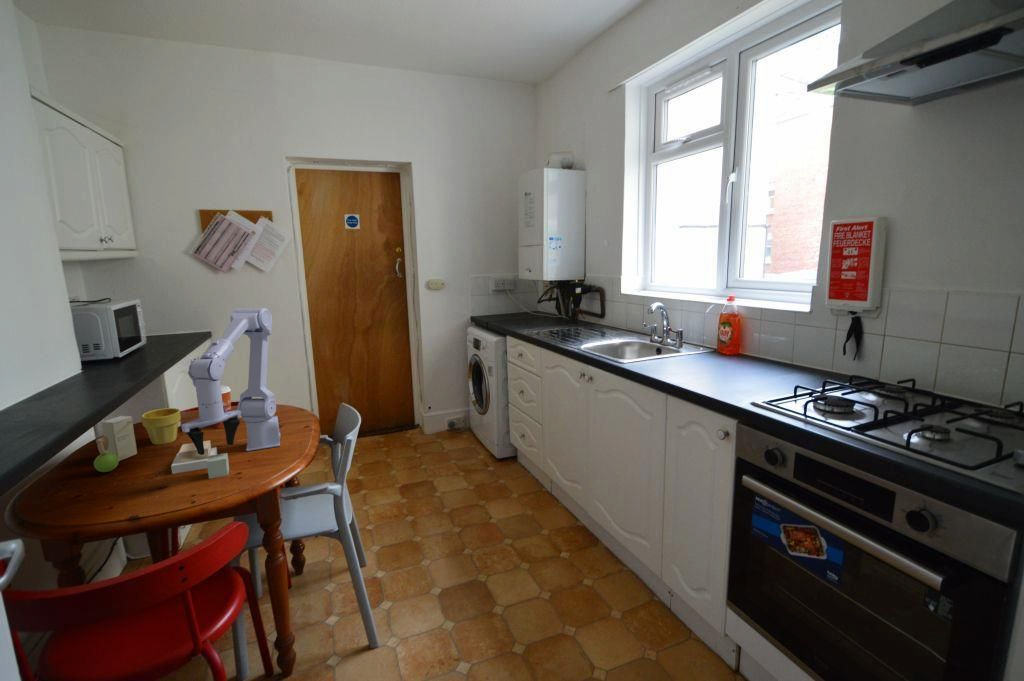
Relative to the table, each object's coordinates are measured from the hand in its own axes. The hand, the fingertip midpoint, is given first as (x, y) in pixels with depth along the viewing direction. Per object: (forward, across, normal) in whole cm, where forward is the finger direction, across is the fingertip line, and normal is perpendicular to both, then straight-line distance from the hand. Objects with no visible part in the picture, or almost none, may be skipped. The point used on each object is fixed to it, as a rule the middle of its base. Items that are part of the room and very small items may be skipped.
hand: (216, 449), depth 135 cm
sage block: (+8, 0, 0) cm, 8 cm away
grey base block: (+8, 0, -13) cm, 15 cm away
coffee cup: (+8, -11, -54) cm, 56 cm away
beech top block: (+5, 0, -13) cm, 14 cm away
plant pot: (+8, -3, -42) cm, 42 cm away
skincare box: (+8, +10, -38) cm, 40 cm away
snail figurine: (+8, +17, -29) cm, 34 cm away
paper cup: (+7, -21, -40) cm, 46 cm away
